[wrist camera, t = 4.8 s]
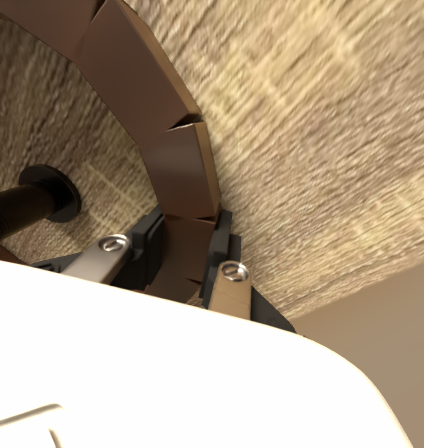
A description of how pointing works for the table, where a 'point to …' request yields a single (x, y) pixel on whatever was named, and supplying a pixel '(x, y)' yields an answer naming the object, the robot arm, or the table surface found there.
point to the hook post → (38, 200)
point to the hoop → (140, 122)
